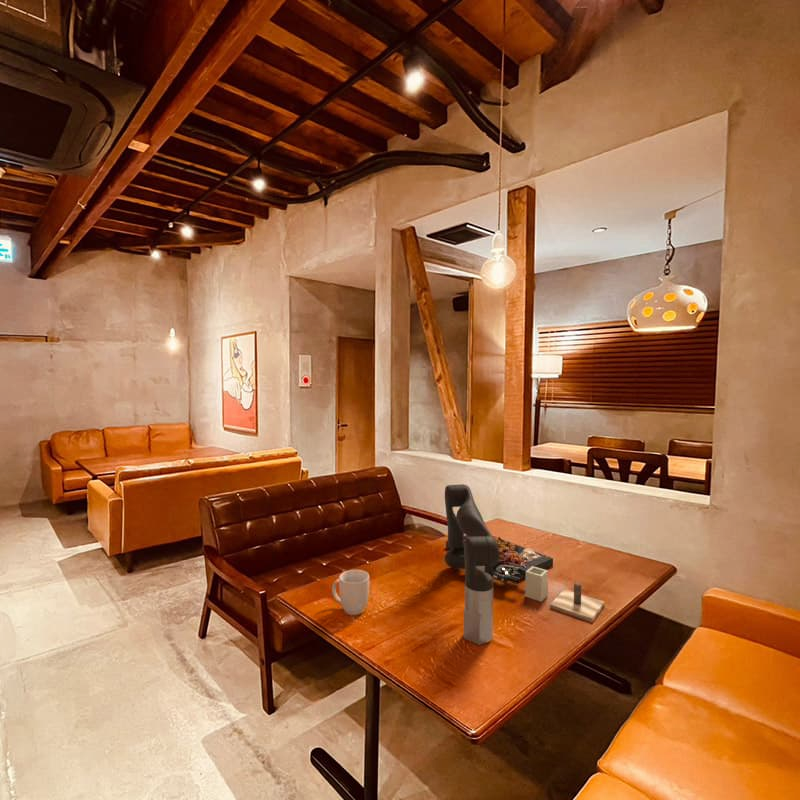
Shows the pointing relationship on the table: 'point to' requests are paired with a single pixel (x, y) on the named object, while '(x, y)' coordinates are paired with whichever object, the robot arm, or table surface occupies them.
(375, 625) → the table surface
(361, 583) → the mug
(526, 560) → the food platter
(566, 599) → the post base
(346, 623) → the table surface
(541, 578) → the cream square bin
